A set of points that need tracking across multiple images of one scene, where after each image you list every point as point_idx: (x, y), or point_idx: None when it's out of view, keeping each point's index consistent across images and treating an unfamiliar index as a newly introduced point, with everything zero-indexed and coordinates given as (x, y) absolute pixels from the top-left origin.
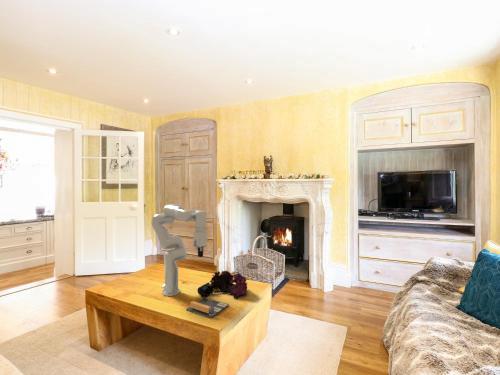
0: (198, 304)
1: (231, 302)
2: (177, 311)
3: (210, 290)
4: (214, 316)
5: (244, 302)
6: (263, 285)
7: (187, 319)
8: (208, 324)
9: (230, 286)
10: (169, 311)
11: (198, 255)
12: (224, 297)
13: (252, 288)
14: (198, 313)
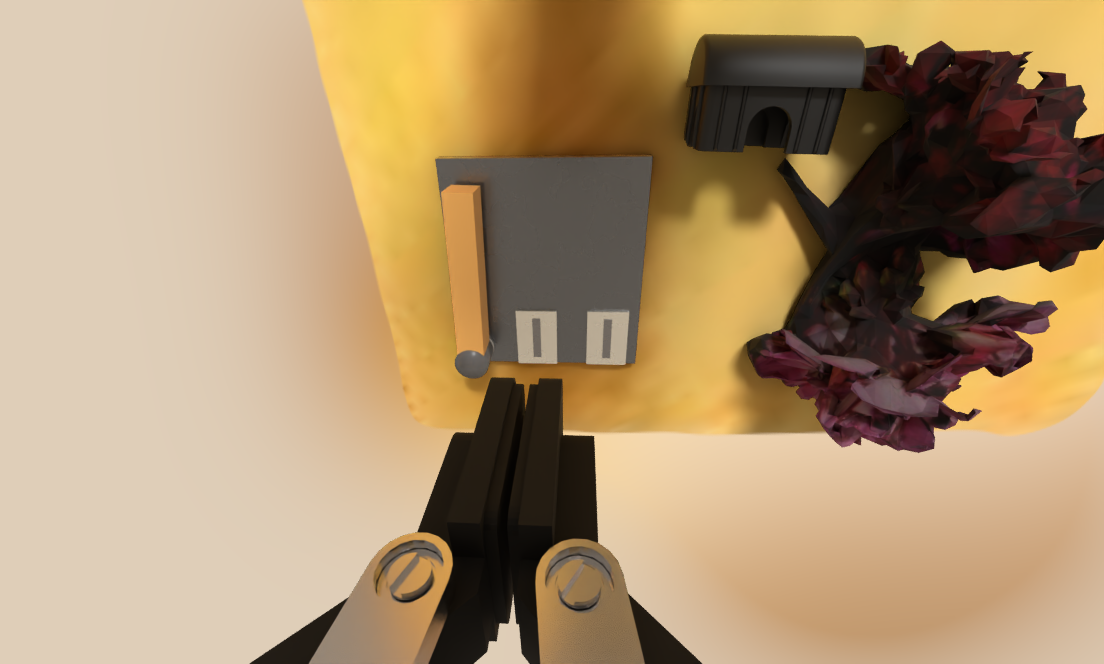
0: (457, 267)
1: (688, 348)
2: (388, 103)
3: (787, 129)
4: None
5: (719, 408)
6: (1040, 406)
7: (370, 244)
8: (412, 369)
9: (863, 293)
10: (346, 41)
11: (458, 436)
12: (744, 272)
13: None
14: None
